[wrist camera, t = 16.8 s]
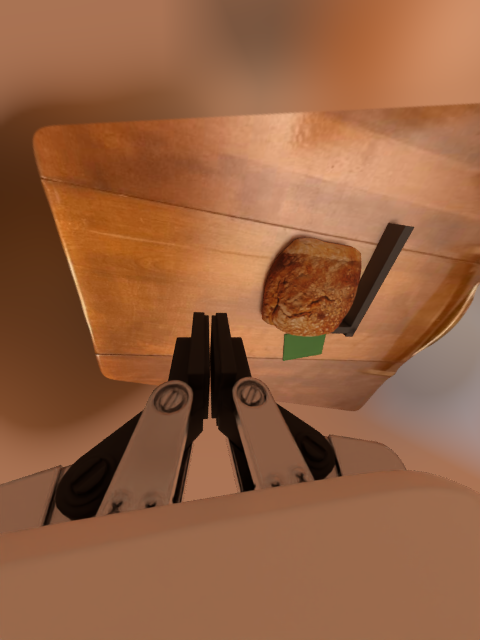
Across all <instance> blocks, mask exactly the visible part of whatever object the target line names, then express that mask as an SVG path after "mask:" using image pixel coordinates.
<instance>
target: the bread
mask: <svg viewBox="0 0 480 640" xmlns="http://www.w3.org/2000/svg"><path fill="white" fill-rule="evenodd" d="M360 274H361V253H360V252H359V251H358V250H357V249H355V248H353V247H351V246H346V245H340V244H335V243H328V242H324V241H321V240H318V239H315V238H300V239H295V240H294V241H293V242H292V243H291V244H290V245H289V246H288V247H287V248H286V249H285V250H284V251H283V252H282V253H281V254H280V255H279V256H278V257H277V259H276V261H275V262H274V264H273V266H272V268H271V270H270V273H269V275H268V278H267V281H266V285H265V291H264V300H263V308H262V319H263V320H264V321H265V322H267V323H268V324H270V325H274V326H276V327H277V328H278V329H280V330H281V331H284V332H286V333H288V334H291V335H296V336H309V337H312V336H319V335H323V334H329V333H331V332H333V331H334V330H335V329H336V328H338V326H339V325H340V324H341V322H342V320H343V319H344V317H345V316H346V314H347V313H348V311H349V310H350V308H351V306H352V304H353V301H354V299H355V296H356V292H357V288H358V284H359V280H360Z"/></svg>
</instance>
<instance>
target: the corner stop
mask: <svg viewBox="0 0 480 640" xmlns="http://www.w3.org/2000/svg"><path fill="white" fill-rule="evenodd" d="M413 229H414V227H411V226H405V225H398V224H392V223H388V225H387V227H386V229H385V231H384V233H383V235H382V238H381V240H380V242H379V244H378V246H377V248H376V250H375V252H374V254H373V256H372V258H371V260H370V262H369V264H368V266H367V268H366V270H365V272H364V274H363V276H362V278H361V280H360V282H359V284H358V288H357V292H356V296H355V299H354V301H353V304H352V306H351V308H350V310H349V311H348V313H347V314H346V316H345V317H344V319H343V320H342V322H341V324H340V325H339V326H338V328H336V329H335V330H334V331H333V332H331V333H343V334H344V335H345V336H346V337H352V336H353V335H354V333H355V331H356V329H357V327H358V326H359V324H360V322H361V320H362V319H363V317H364V315H365V313H366V312H367V310H368V308H369V306H370V305H371V303H372V301H373V299H374V297H375V296H376V294H377V292H378V290H379V289H380V287H381V285H382V283H383V282H384V280H385V278H386V276H387V275H388V273H389V271H390V269H391V267H392V266H393V264H394V262H395V260H396V259H397V257H398V255H399V253H400V252H401V250H402V248H403V246H404V245H405V243H406V241H407V239H408V237H409V236H410V234H411V232H412V230H413Z"/></svg>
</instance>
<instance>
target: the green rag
mask: <svg viewBox="0 0 480 640" xmlns="http://www.w3.org/2000/svg"><path fill="white" fill-rule="evenodd" d="M325 336H326V334H323V335H319V336H312V337H309V336H296V335H291V334H284V350H283V361H285V360H291V359H296V358H302V357H308V356H313V355H319V354H322V349H323V345H324V340H325Z"/></svg>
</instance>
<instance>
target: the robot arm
mask: <svg viewBox="0 0 480 640" xmlns="http://www.w3.org/2000/svg"><path fill="white" fill-rule="evenodd" d="M210 377H211V411H212V413H211V414H212V418H216V423H217V426H218V429H219V430H220V431H221V432H222V433H223V434H224V435H225V436H226V442H227V447H228V451H229V456H230V460H231V465H232V469H233V473H234V478H235V482H236V487H237V491H238V493H236V494H230V495H223V496H218V497H212V498H206V499H200V500H193V501H187V502H183V499H184V494H185V488H186V484H187V478H188V473H189V467H190V462H191V456H192V451H193V446H194V440H195V439H196V438H197V437H198V436H199V434H200V433H201V432H202V431H203V419H208V406H209V386H210ZM0 640H480V493H478V492H477V491H475V490H472V489H471V488H469V487H467V486H464V485H462V484H460V483H457V482H455V481H452V480H449V479H447V478H444V477H441V476H437V475H434V474H430V473H427V472H420V471H412V470H406V468H405V466H404V464H403V463H402V461H401V460H400V459H399V457H398V455H396V454H395V453H394V452H393V451H392V450H391V449H390V448H389V447H387V446H385V445H384V444H381V443H378V442H374V441H368V440H362V439H355V438H349V437H343V436H336V435H329V436H328V437H327V436H323V435H322V434H321V433H320V432H318V431H317V430H315V429H314V428H312V427H311V426H309V425H308V424H306V423H305V422H304V421H302V420H300V419H299V418H298V417H296V416H295V415H293V414H292V413H290V412H289V411H287V410H286V409H284V408H283V407H281V406H280V405H278V404H277V403H276V402H275V400H274V398H273V396H272V394H271V392H270V390H269V388H268V387H267V385H266V384H265V383H264V382H262V381H261V380H259V379H257V378H253V377H251V373H250V369H249V365H248V361H247V357H246V353H245V349H244V345H243V341H242V338H241V337H231V335H230V329H229V324H228V318H227V313H216V316H214V315H212V323H211V345H210V348H209V315H204V313H203V312H194V315H193V324H192V334H191V337H177V340H176V344H175V349H174V354H173V359H172V364H171V369H170V374H169V379H168V382H165V383H163V384H161V385H159V386H158V387H157V388H156V389H155V390H154V391H153V392H152V394H151V395H150V397H149V399H148V401H147V404H146V406H145V408H144V410H143V411H141V412H140V413H139V414H137V415H136V416H135V417H133V418H132V419H131V420H130V421H128V422H127V423H125V424H124V425H123V426H122V427H120V428H119V429H118V430H116V431H115V432H114V433H112V434H111V435H110V436H108V437H107V438H106V439H104V440H103V441H102V442H100V443H99V444H98V445H97V446H95V447H94V448H92V449H91V450H90V451H89V452H87V453H86V454H85V455H83V456H82V457H80V458H79V459H78V460H77V461H76V462H75V463H74V464H72V465H69V466H66V467H62V466H61V465H60V466H56V467H54V468H50V469H47V470H44V471H41V472H38V473H35V474H32V475H29V476H26V477H22V478H19V479H16V480H13V481H11V482H7V483H4V484H1V485H0Z"/></svg>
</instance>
